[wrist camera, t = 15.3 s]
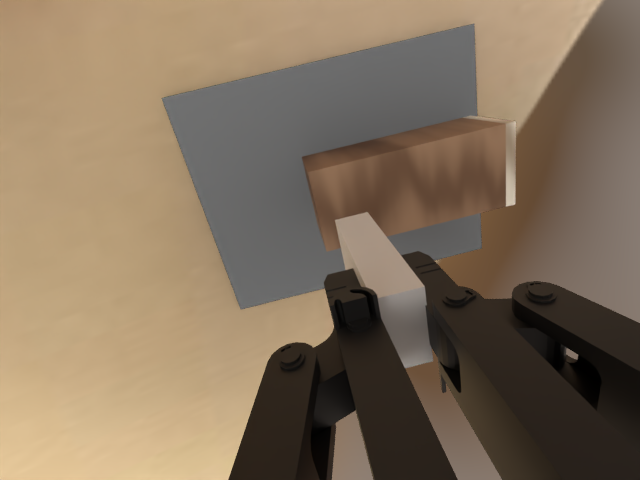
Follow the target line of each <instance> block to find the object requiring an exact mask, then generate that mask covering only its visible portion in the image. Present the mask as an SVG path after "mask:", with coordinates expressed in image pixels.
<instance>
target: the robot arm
mask: <svg viewBox="0 0 640 480" xmlns="http://www.w3.org/2000/svg"><path fill="white" fill-rule="evenodd" d="M335 223H336V227H337V232H338V237H339V241H340V246H341V251H342V256H343V260H344V265H345V270H344V271H340V272H336V273H332V274H328V275H327V277H326V279H325V281H324V286H325V290H326V294H327V298H328V303H329V307H330V311H331V315H332V319H333V323H334V329H333V332H332V334H331V335H330V337H329V338H328V339H327V340H326V341H324V342H323V343H321V344H320V345H318V346H316V347H314V348H313V347H312V346H311V345H308V344H306V343H298V342H296V343H291V344H287V345H285V346H283V347H281V348H279V349H278V350H277V351H276V352H274V353H273V354H272V355H271V357H270V359H269V361H268V363H267V366H266V369H265V372H264V375H263V378H262V381H261V384H260V387H259V390H258V393H257V396H256V399H255V402H254V405H253V408H252V411H251V414H250V417H249V420H248V423H247V426H246V429H245V432H244V435H243V438H242V441H241V444H240V447H239V450H238V453H237V456H236V459H235V462H234V465H233V468H232V471H231V474H230V477H229V480H332V469H333V457H334V445H335V433H336V425H335V423H336V422H337V421H339V420H340V419H342V418H344V417H346V416H347V415H349V414H350V413H352V412H354V411H355V410H356V414H357V418H358V421H359V425H360V429H361V433H362V437H363V441H364V445H365V449H366V453H367V456H368V460H369V464H370V468H371V472H372V476H373V480H457V477H456V475H455V473H454V471H453V469H452V467H451V465H450V463H449V461H448V458H447V456H446V454H445V452H444V450H443V448H442V446H441V444H440V441H439V440H438V437H437V435H436V433H435V431H434V429H433V427H432V425H431V423H430V421H429V418H428V416H427V414H426V412H425V410H424V408H423V406H422V403H421V401H420V400H419V397H418V395H417V393H416V391H415V389H414V387H413V385H412V383H411V381H410V378H409V376H408V374H407V372H406V370H405V368H408V367H412V366H416V365H420V364H424V363H428V362H432V361H433V357H432V349H433V351H434V352H435V354H436V355H437V357H438V363H439V374H440V383H441V389H442V392H443V393H444V392H446V384H447V386H448V387H449V389H450V391H451V392H452V394H453V396H454V398H455V399H456V401H457V402H458V404H459V406H460V408H461V409H462V411H463V413H464V415H465V416H466V418H467V420H468V421H469V423H470V425H471V427H472V428H473V430H474V432H475V434H476V435H477V437H478V439H479V440H480V442H481V444H482V445H483V447H484V449H485V451H486V452H487V454H488V456H489V457H490V459H491V461H492V463H493V464H494V466H495V468H496V470H497V471H498V473H499V475H500V476H501V478H502V480H640V323H638V322H636V321H634V320H632V319H629V318H627V317H625V316H623V315H621V314H619V313H616V312H614V311H612V310H610V309H608V308H606V307H603V306H601V305H599V304H597V303H595V302H592V301H590V300H588V299H586V298H584V297H582V296H579V295H577V294H575V293H573V292H571V291H568V290H566V289H564V288H562V287H560V286H557V285H554V284H551V283H546V282H539V281H534V282H526V283H523V284H519V285H518V286H517V287H515V288H514V290H513V292H512V298H511V299H484V298H483V297H482V296H481V295H480V294H479V293H477V292H476V291H474V290H473V289H470V288H467V287H460V286H457V285H456V284H455V282H454V281H453V280H452V279H451V278H450V277H449V276H448V275H447V274H446V273H445V272H444V271H443V270H442V269H441V268H440V266H439V265H438V264H436V262H435V261H434V260H433V259H432V258H431V257H430V256H429V255H427V254H424V253H422V252H420V251H416V252H412V253H408V254H404V255H400V254H399V252H398V251H397V250H396V248H395V247H394V246H393V244H392V243H391V242H390V241H389V239H388V238H387V237H386V235H385V234H384V233H383V231H382V230H381V229H380V228H379V226H378V225H377V224H376V222H375V221H374V220H373V218H372V217H371V216H370V215H369V213H368V212H366V213H362V214H357V215H353V216H349V217H345V218H341V219H337V220H335ZM431 347H432V348H431ZM566 348H568V349H570V350H572V351H573V352H575V353H577V354H578V360H576V359H573V358H571V357H569V356H568V355H566Z"/></svg>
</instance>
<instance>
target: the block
mask: <svg viewBox="0 0 640 480" xmlns="http://www.w3.org/2000/svg"><path fill="white" fill-rule="evenodd" d="M302 161H303V165H304V169H305V173H306V178H307V182H308V186H309V190H310V194H311V199H312V203H313V207H314V211H315V215H316V220H317V224H318V227H319V230H320V233H321V236H322V239H323V242H324V245H325V248H326V251H327V252H328V251H332V250H335V249H339V248H341V246H340V241H339V237H338V232H337V227H336V223H335V220H337V219H341V218H345V217H349V216H353V215H357V214H362V213H366V212H368V213H369V215H370V216H371V217H372V218H373V220H374V221H375V222H376V224H377V225H378V226H379V228H380V229H381V230H382V231H383V233H384V234H385V235H386V237H387V236H391V235H395V234H399V233H403V232H407V231H411V230H415V229H419V228H423V227H427V226H431V225H435V224H439V223H443V222H447V221H451V220H455V219H459V218H463V217H467V216H471V215H475V214H479V213H482V212H487V211H491V210H494V209H499V208H503V207H506V206H510V205H515V182H516V180H515V179H516V176H515V175H516V121H511V120H503V119H495V118H487V117H478V116H467V117H463V118H459V119H454V120H450V121H446V122H442V123H438V124H434V125H430V126H426V127H422V128H418V129H414V130H409V131H405V132H401V133H397V134H393V135H389V136H385V137H381V138H377V139H373V140H369V141H364V142H360V143H356V144H352V145H348V146H344V147H340V148H336V149H332V150H328V151H324V152H319V153H315V154H311V155H307V156H303V157H302Z"/></svg>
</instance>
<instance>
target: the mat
mask: <svg viewBox="0 0 640 480" xmlns="http://www.w3.org/2000/svg"><path fill="white" fill-rule="evenodd" d="M162 100H163V103H164V106H165V108H166V111H167V114H168V116H169V119H170V122H171V125H172V127H173V130H174V133H175V135H176V138H177V141H178V143H179V146H180V149H181V151H182V154H183V157H184V159H185V162H186V165H187V167H188V170H189V173H190V175H191V178H192V181H193V183H194V186H195V189H196V191H197V194H198V197H199V199H200V202H201V205H202V207H203V210H204V213H205V215H206V218H207V221H208V223H209V226H210V229H211V231H212V234H213V237H214V239H215V242H216V245H217V247H218V250H219V253H220V255H221V258H222V261H223V263H224V266H225V269H226V271H227V274H228V277H229V279H230V282H231V285H232V287H233V290H234V293H235V296H236V298H237V301H238V304H239V306H240V309H245V308H249V307H253V306H257V305H261V304H264V303H268V302H272V301H276V300H280V299H284V298H288V297H292V296H296V295H300V294H304V293H308V292H312V291H316V290H320V289H324V288H325V286H324V281H325V279H326V277H327V275H328V274H332V273H336V272H340V271H344V270H345V265H344V260H343V256H342V251H341V248H339V249H335V250H332V251H328V252H327V251H326V248H325V245H324V242H323V239H322V236H321V233H320V230H319V227H318V224H317V220H316V215H315V211H314V207H313V203H312V199H311V194H310V190H309V186H308V182H307V178H306V173H305V169H304V165H303V161H302V157H303V156H307V155H311V154H315V153H319V152H324V151H328V150H332V149H336V148H340V147H344V146H348V145H352V144H356V143H360V142H364V141H369V140H373V139H377V138H381V137H385V136H389V135H393V134H397V133H401V132H405V131H409V130H414V129H418V128H422V127H426V126H430V125H434V124H438V123H442V122H446V121H450V120H454V119H459V118H463V117H467V116H477V92H476V62H475V31H474V24H471V25H466V26H462V27H458V28H454V29H450V30H445V31H441V32H437V33H433V34H429V35H424V36H420V37H416V38H412V39H408V40H403V41H399V42H395V43H391V44H387V45H382V46H378V47H374V48H370V49H366V50H361V51H357V52H353V53H349V54H345V55H340V56H336V57H332V58H328V59H324V60H320V61H315V62H311V63H307V64H303V65H299V66H294V67H290V68H286V69H282V70H278V71H273V72H269V73H265V74H261V75H257V76H252V77H248V78H244V79H240V80H236V81H231V82H227V83H223V84H219V85H215V86H210V87H206V88H202V89H198V90H194V91H189V92H185V93H181V94H177V95H173V96H168V97H164V98H162ZM387 238H388V239H389V241H390V242H391V243H392V244H393V246H394V247H395V248H396V250H397V251H398V252H399V254H400V255H404V254H408V253H412V252H416V251H420V252H422V253H424V254H427V255H429V256H430V257H431V258H432V259H433V260H438V259H442V258H446V257H450V256H453V255H457V254H461V253H465V252H469V251H473V250H477V249H481V248H482V242H481V213H479V214H475V215H471V216H467V217H463V218H459V219H455V220H451V221H447V222H443V223H439V224H435V225H431V226H427V227H423V228H419V229H415V230H411V231H407V232H403V233H399V234H395V235H391V236H387Z"/></svg>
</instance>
